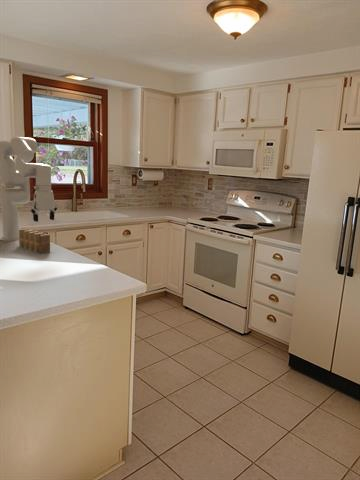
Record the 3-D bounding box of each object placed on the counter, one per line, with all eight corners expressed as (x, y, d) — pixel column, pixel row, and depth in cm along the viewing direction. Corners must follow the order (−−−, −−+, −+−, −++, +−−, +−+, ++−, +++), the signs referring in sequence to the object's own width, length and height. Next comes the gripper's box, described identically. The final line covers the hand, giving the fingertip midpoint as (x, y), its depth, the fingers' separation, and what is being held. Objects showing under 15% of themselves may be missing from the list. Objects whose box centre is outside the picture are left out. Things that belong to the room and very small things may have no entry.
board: (15, 247, 209) (15, 246, 209) (29, 245, 216) (29, 244, 216) (40, 255, 196) (40, 254, 195) (53, 253, 202) (53, 252, 202)
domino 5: (50, 252, 201) (49, 234, 199) (42, 253, 197) (41, 235, 195) (47, 251, 202) (47, 233, 200) (39, 253, 198) (39, 235, 196)
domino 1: (19, 246, 210) (18, 229, 208) (27, 245, 214) (27, 228, 212) (21, 247, 209) (20, 230, 207) (29, 246, 213) (28, 229, 211)
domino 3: (29, 249, 204) (28, 232, 202) (37, 248, 208) (37, 231, 206) (31, 250, 203) (30, 232, 201) (39, 249, 207) (39, 231, 205)
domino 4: (34, 251, 201) (34, 233, 199) (42, 250, 205) (42, 232, 203) (36, 252, 200) (36, 234, 198) (44, 250, 204) (44, 233, 202)
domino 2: (24, 248, 207) (23, 230, 205) (32, 247, 211) (31, 229, 209) (26, 248, 206) (25, 231, 204) (34, 247, 210) (33, 230, 208)
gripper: (32, 189, 184) (33, 223, 187) (61, 188, 197) (62, 220, 201) (24, 188, 188) (25, 220, 192) (53, 187, 202) (53, 218, 205)
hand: (44, 220), depth 196 cm, fingers open, 9 cm apart
